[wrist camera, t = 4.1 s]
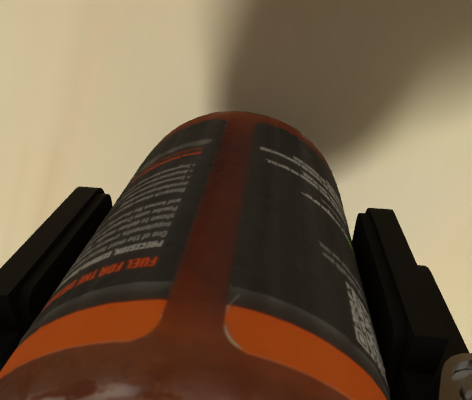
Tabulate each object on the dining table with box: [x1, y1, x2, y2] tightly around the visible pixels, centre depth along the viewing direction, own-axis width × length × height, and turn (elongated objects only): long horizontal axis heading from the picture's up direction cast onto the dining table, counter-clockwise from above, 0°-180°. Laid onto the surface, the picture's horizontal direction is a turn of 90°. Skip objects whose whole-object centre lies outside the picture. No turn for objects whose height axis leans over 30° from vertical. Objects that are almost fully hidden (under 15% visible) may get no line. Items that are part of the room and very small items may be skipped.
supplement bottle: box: [0, 111, 391, 400], centre depth 8 cm, size 6×6×11 cm
